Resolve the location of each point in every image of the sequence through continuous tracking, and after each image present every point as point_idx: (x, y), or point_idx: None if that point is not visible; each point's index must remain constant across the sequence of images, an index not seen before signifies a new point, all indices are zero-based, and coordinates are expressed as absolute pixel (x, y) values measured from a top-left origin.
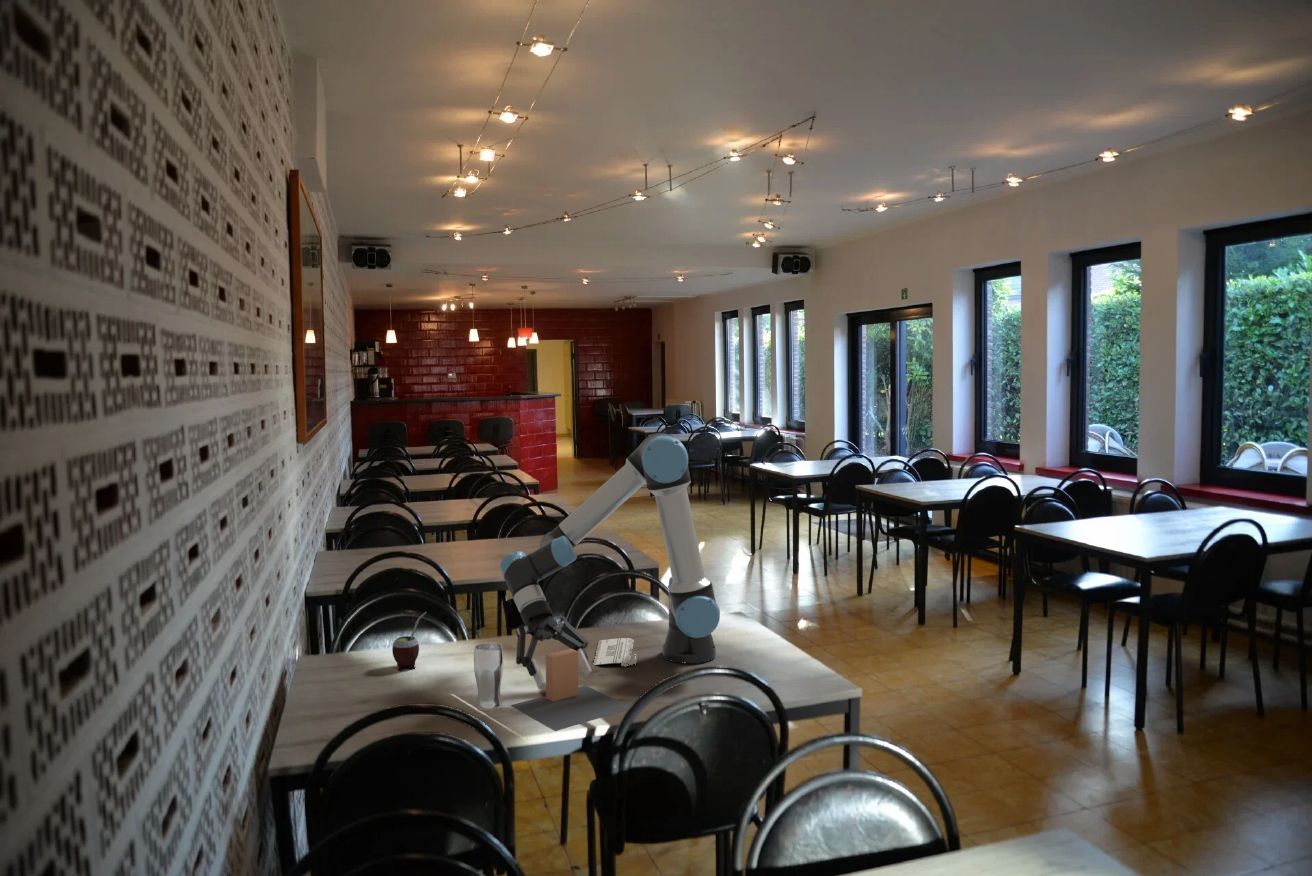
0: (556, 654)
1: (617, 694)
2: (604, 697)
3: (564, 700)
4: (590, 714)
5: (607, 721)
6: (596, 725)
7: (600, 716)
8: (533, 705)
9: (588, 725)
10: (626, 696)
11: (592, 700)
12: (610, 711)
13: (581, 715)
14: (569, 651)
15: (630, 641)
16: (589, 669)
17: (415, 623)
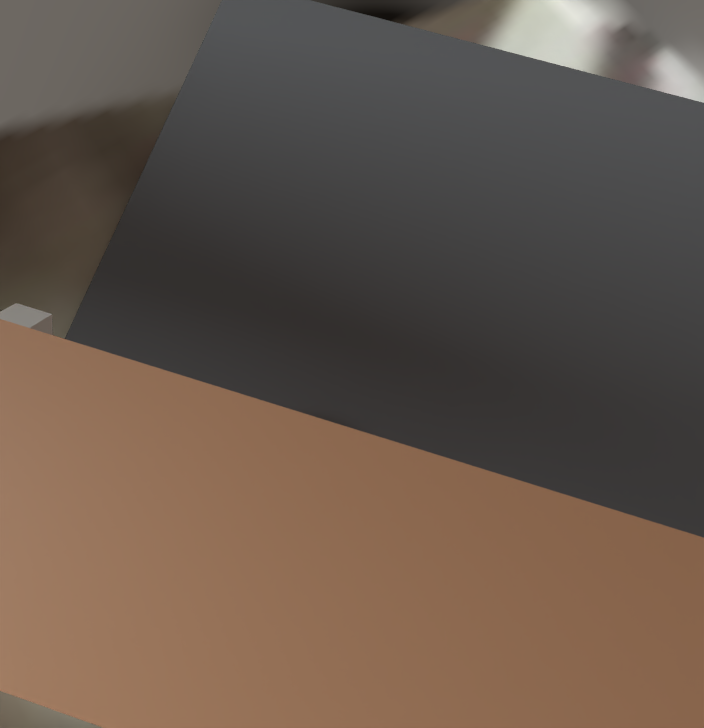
0: (486, 635)
1: (21, 221)
2: (159, 236)
3: None
4: (501, 129)
5: (496, 11)
6: (591, 28)
7: (485, 60)
8: None
9: (626, 64)
10: (29, 146)
11: (265, 274)
12: (373, 55)
13: (556, 168)
14: (87, 493)
15: None
16: (21, 321)
17: None
